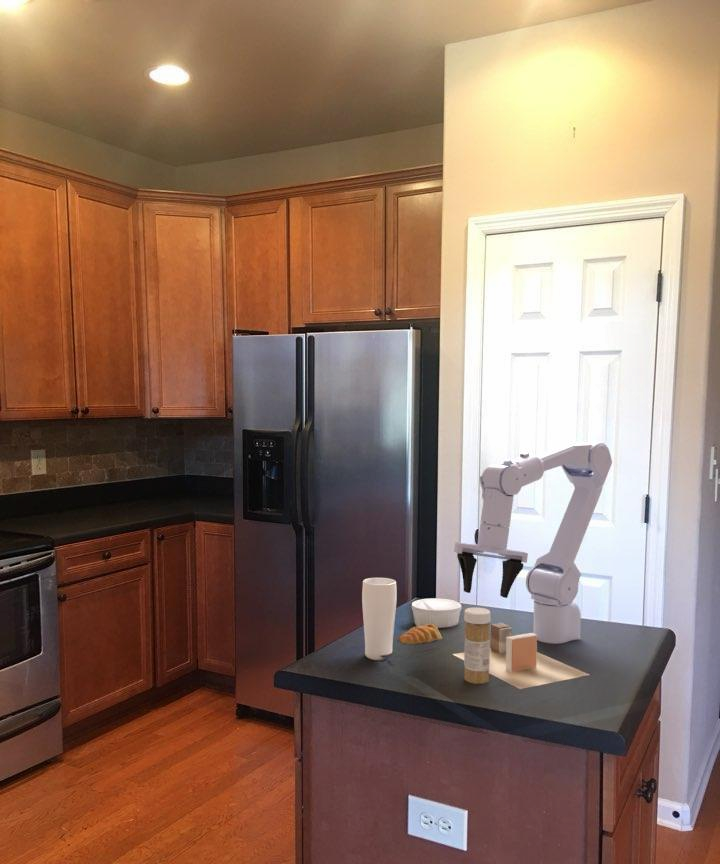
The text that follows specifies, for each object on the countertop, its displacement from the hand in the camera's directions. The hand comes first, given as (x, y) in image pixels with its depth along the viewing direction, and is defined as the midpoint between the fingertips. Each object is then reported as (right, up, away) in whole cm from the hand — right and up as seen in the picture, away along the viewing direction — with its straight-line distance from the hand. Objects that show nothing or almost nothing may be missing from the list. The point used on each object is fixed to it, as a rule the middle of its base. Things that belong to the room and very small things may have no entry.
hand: (485, 594), depth 139 cm
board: (+5, -13, -6) cm, 15 cm away
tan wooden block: (+3, -12, +2) cm, 12 cm away
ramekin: (-7, -13, +22) cm, 27 cm away
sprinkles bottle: (-4, -13, -14) cm, 20 cm away
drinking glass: (-21, -13, +1) cm, 24 cm away
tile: (+5, -12, -8) cm, 15 cm away
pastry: (-12, -13, +10) cm, 20 cm away
